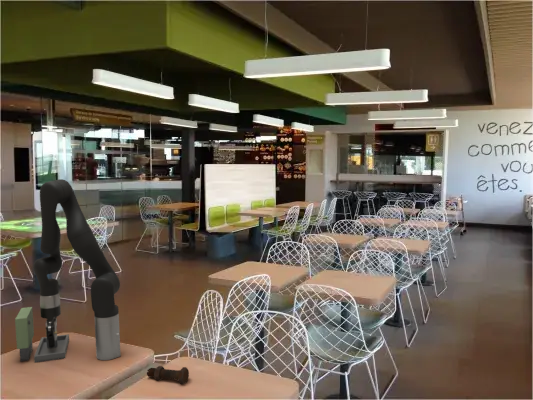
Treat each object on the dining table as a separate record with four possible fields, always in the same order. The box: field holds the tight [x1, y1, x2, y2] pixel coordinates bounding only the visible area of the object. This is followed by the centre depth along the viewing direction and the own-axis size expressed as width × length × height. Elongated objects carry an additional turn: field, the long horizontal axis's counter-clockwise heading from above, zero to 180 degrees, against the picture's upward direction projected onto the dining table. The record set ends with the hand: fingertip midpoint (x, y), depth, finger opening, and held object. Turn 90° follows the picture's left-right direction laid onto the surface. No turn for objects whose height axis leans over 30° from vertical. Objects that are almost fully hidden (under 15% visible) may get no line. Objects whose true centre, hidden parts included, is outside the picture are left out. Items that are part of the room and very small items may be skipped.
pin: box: [45, 328, 58, 349], centre depth 191 cm, size 4×4×7 cm
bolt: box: [146, 365, 190, 385], centre depth 166 cm, size 6×5×15 cm
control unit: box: [14, 306, 35, 363], centre depth 186 cm, size 5×14×18 cm, turn 19°
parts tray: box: [33, 334, 70, 363], centre depth 192 cm, size 11×20×2 cm, turn 19°
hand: (52, 344), depth 192 cm, fingers closed on pin, 4 cm apart
